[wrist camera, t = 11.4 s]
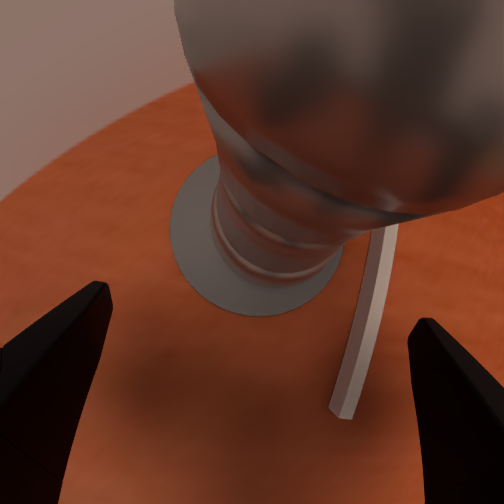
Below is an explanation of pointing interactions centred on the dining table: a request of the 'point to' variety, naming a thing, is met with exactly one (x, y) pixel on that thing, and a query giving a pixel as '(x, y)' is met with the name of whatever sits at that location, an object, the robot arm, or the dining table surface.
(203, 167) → the slate mat
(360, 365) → the frosted wall
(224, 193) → the plastic bottle
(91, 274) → the dining table surface
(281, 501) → the dining table surface
